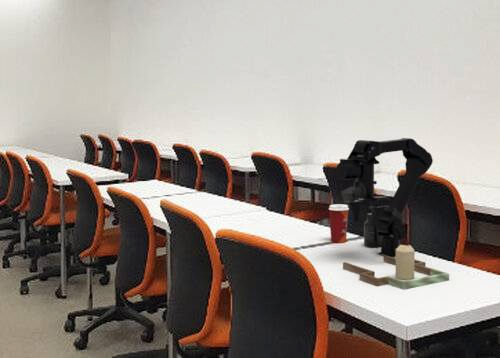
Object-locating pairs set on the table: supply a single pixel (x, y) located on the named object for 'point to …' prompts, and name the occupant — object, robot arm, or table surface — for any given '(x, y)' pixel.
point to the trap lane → (418, 267)
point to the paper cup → (338, 222)
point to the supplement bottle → (371, 234)
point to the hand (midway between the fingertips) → (364, 224)
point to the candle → (405, 262)
